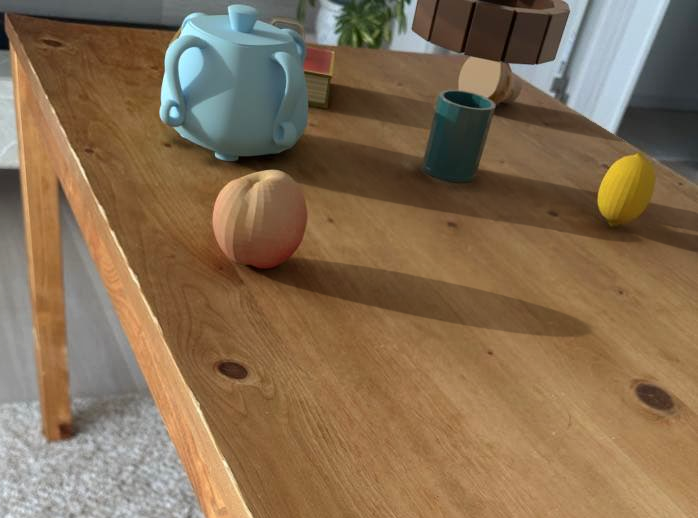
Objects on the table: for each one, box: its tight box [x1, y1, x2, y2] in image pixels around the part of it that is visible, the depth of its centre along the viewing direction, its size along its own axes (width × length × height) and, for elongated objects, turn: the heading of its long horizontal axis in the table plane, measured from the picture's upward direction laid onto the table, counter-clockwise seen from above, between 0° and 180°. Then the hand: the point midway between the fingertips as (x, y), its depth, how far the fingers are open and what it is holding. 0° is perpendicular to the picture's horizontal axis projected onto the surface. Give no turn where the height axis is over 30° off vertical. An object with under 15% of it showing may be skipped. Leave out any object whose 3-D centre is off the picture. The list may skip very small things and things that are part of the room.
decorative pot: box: [159, 4, 309, 162], centre depth 95 cm, size 16×16×14 cm
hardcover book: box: [166, 24, 336, 109], centre depth 116 cm, size 12×21×4 cm, turn 86°
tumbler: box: [421, 89, 496, 183], centre depth 100 cm, size 6×6×8 cm
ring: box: [411, 0, 571, 66], centre depth 90 cm, size 15×15×4 cm
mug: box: [457, 56, 523, 106], centre depth 123 cm, size 8×10×10 cm
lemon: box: [597, 152, 656, 227], centre depth 95 cm, size 6×6×8 cm
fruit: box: [212, 169, 309, 269], centre depth 76 cm, size 8×8×8 cm
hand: (487, 16), depth 96 cm, fingers closed on ring, 2 cm apart
